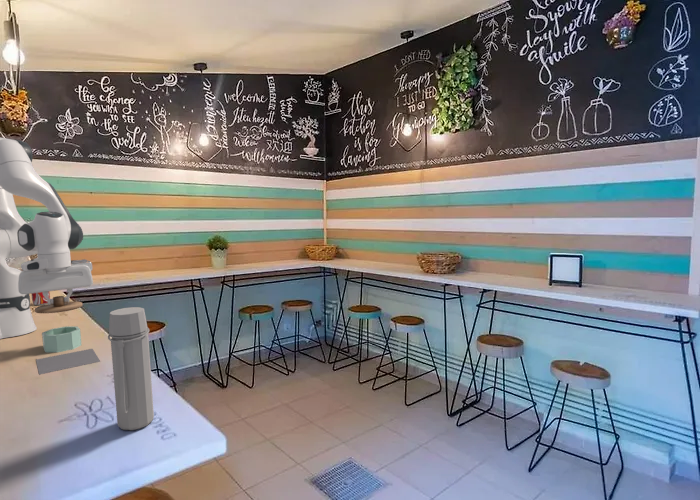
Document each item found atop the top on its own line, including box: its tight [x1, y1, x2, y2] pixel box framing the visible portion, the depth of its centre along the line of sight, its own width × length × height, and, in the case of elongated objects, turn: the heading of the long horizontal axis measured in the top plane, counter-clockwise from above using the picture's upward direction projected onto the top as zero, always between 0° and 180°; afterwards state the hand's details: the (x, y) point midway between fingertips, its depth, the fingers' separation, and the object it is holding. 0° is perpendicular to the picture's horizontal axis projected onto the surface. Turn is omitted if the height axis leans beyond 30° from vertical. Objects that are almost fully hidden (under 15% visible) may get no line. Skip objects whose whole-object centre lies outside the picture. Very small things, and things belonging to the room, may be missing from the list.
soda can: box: [30, 291, 51, 306], centre depth 207 cm, size 7×7×12 cm
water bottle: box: [107, 306, 155, 431], centre depth 91 cm, size 9×8×25 cm
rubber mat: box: [35, 348, 101, 375], centre depth 131 cm, size 15×15×1 cm
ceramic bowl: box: [41, 325, 82, 353], centre depth 143 cm, size 10×10×6 cm
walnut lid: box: [34, 295, 83, 314], centre depth 141 cm, size 13×13×4 cm
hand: (58, 303), depth 141 cm, fingers closed on walnut lid, 3 cm apart
